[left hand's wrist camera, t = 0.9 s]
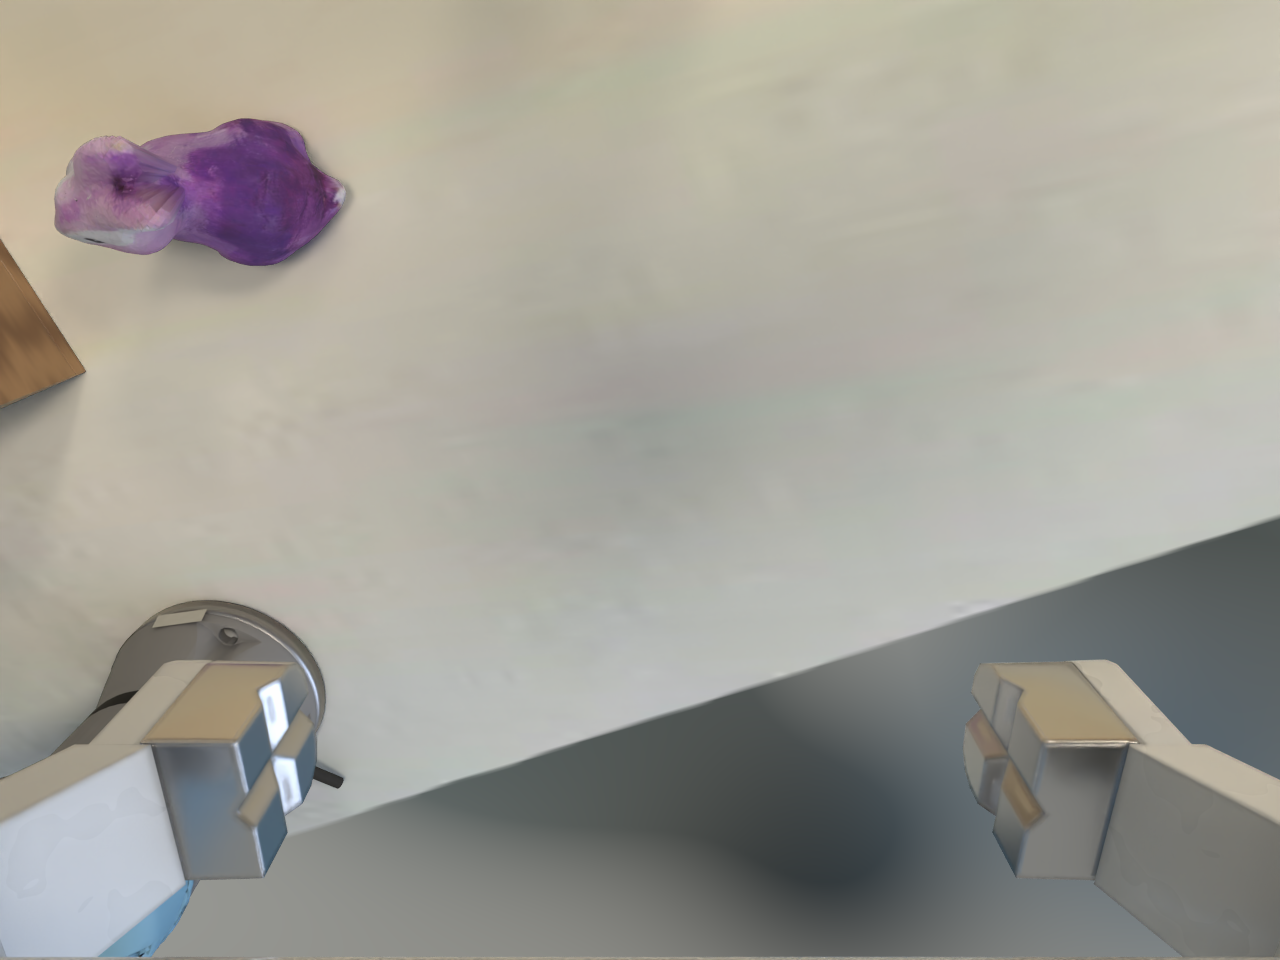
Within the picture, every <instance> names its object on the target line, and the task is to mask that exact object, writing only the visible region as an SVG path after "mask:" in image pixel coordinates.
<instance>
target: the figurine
mask: <svg viewBox="0 0 1280 960" xmlns="http://www.w3.org/2000/svg"><path fill="white" fill-rule="evenodd" d="M345 196H346V191H345V188H344V186H343V185H342V184H341V182H340V181H338V180H337V179H334V178H332V177H330V176H328V175H326V174H324V173H323V172H321V171H320V170H318V169H317V168H316V167H315V166H313V165H312V164H311V162H310V159H309V158H308V156H307V153H306V149H305V144H304V141H303V138H302V137H301V135H300V134H299V133H298V132H297V131H296V130H295V129H293V128H291V127H289V126H287V125H285V124H283V123H278V122H272V121H262V120H256V119H237V120H234V121H230V122H227V123H224V124H222V125H220V126H218V127H217V128H215V129H214V130H212V131H209V132H202V133H189V134H177V135H170V136H165V137H161V138H157V139H154V140H151V141H148V142H146V143H145V144H143V145H142V146H138V145H136V144H134V143H132V142H131V141H129V140H127V139H125V138H123V137H121V136H118V137H114V136H110V137H108V136H104V137H97V138H94V139H93V140H90V141H88V142H86V143H84V144H83V145H82V146H80V148H79V149H78V150H77V151H76V152H75V154H74V156H73V158H72V159H71V160H70V162H69V164H68V166H67V171H66V176H65V177H64V178H63V179H62V180H61V181H60V183H59V184H58V186H57V188H56V191H55V198H54V200H55V210H56V211H55V227H56V229H57V230H58V231H59V232H60V233H61V234H63V235H65V236H67V237H69V238H72V239H75V240H78V241H81V242H84V243H88V244H94V245H99V246H103V247H108V248H112V249H115V250H118V251H122V252H126V253H133V254H141V255H147V254H151V253H155V252H158V251H159V250H161V249H163V248H164V247H165V246H167V245H168V244H169V243H170V241H171V240H172V239H176V240H180V241H185V242H192V243H199V244H203V245H206V246H208V247H210V248H213V249H215V250H217V251H218V252H219V253H220V254H221V255H222V256H223V257H225V258H227V259H229V260H231V261H234V262H237V263H240V264H244V265H249V266H266V265H273V264H276V263H279V262H281V261H283V260H285V259H286V258H287V257H289V256H290V255H291V254H293V253H294V252H295V251H296V250H298V249H299V248H301V247H302V246H304V245H305V244H307V243H308V242H309V241H310V240H312V239H313V238H314V237H315V236H316V235H317V234H318V233H319V232H320V231H321V230H322V229H323V228H324V227H325V225H326V224H327V223H328V222H329V221H330V220H331V219H332V218H333V217H334V215H335V214H336V213H337V212H338V211H339V210H340V208H341V207H342V205H343V203H344V200H345Z"/></svg>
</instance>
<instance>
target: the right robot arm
mask: <svg viewBox="0 0 1280 960" xmlns="http://www.w3.org/2000/svg"><path fill="white" fill-rule="evenodd" d="M175 660H211V661H217V660H218V661H267V662H297V663H298V664H299V665H300V666H301V667H302V668H303V669H304V672H305V676H306V681H307V686H308V691H309V694H308V695H307V697H306V699H305V700H304V702H303V704H302V705H301V707H300V710H301V711H302V712H303V713H304V714H305V715H306V716H307V717H308V718H309V719H310V720H311V721H312V722H313V723H314V726H315V733H316V732H317V730H318V728H319V726H320V723H321V721H322V718H323V714H324V709H325V689H324V684H323V680H322V676H321V674H320V671H319V669H318V666H317V664H316V662H315V661H314V659H313V657H312V656H311V654H310V653H309V651H308V650H307V649H306V647H305V646H304V645H303V644H302V643H301V641H300V640H299V639H298V638H297V637H296V636H295V635H294V634H293V633H291V632H290V631H289V630H288V629H286V628H285V627H284V626H283V625H281V624H280V623H278V622H277V621H275V620H273V619H272V618H270V617H268V616H266V615H264V614H262V613H260V612H258V611H256V610H253V609H250V608H247V607H244V606H241V605H237V604H233V603H227V602H220V601H194V602H187V603H183V604H179V605H175V606H172V607H169V608H167V609H165V610H163V611H161V612H159V613H157V614H155V615H154V616H152V617H151V618H150V619H148V620H147V621H146V622H145V623H144V624H143V625H142V626H141V627H139V628H138V629H137V630H136V631H135V632H134V633H133V634H132V635H131V636H130V637H129V638H128V639H127V640H126V642H125V643H124V644H123V645H122V647H121V649H120V650H119V652H118V654H117V656H116V658H115V661H114V663H113V666H112V669H111V673H110V675H109V677H108V679H107V682H106V684H105V687H104V689H103V692H102V694H101V697H100V700H99V702H98V705H97V707H96V709H95V711H94V712H93V713H92V714H91V715H90V716H89V717H88V718H87V719H86V720H85V721H84V722H83V723H82V724H81V725H80V726H79V727H78V728H77V729H76V730H75V731H74V732H73V733H72V734H71V735H70V736H69V737H68V738H67V739H66V740H65V741H64V742H63V743H62V744H61V745H60V746H59V747H58V748H57V749H56V750H55V751H54V752H53V753H52V754H51V755H50V756H52V755H54V754H56V753H58V752H60V751H62V750H64V749H66V748H68V747H70V746H72V745H75V744H89V743H90V742H91V741H92V740H93V739H94V738H95V737H96V736H97V735H98V734H99V733H100V732H101V730H102V729H103V728H104V727H105V726H106V725H107V724H108V723H109V722H110V721H111V720H112V719H113V718H114V717H115V715H116V714H117V713H118V712H119V711H120V710H121V709H122V708H123V707H124V706H125V705H126V704H127V703H128V701H129V700H130V699H131V698H132V697H133V696H134V695H135V694H136V693H137V692H138V691H139V690H140V689H141V688H142V686H143V685H144V684H145V683H146V682H147V681H148V680H149V679H150V678H151V677H152V676H153V675H154V674H155V673H156V671H157V670H158V669H159V668H160V667H161V666H162V665H163V664H164V663H167V662H171V661H175ZM9 776H10V775H9ZM6 777H8V776H6ZM6 777H3V778H6ZM3 778H0V780H1V779H3ZM313 779H315V780H318V781H320V782H323V783H325V784H328V785H330V786H332V787H335V788H337V789H338V788H340V787H341V785H342V783H343V778H342V777H339V776H337V775H334V774H332V773H330V772H327V771H325V770H323V769H320V768H318V767H316V766H315V771H314V775H313ZM199 881H200V880H185V882H186V885H185V886H183V887H182V888H181V889H180V890H179V891H177V892H176V893H175V894H174V895H172V896H171V897H170V898H169V899H168V900H166V901H165V902H164V903H163V904H161V905H160V906H159V907H158V908H157V909H155V910H154V911H153V912H152V913H150V914H149V915H148V916H147V917H146V918H144V919H143V920H142V921H141V922H139V923H138V924H137V925H136V926H135V927H133V928H132V929H131V930H130V931H128V932H127V933H126V934H125V935H124V936H122V937H121V938H120V939H119V940H117V941H116V942H115V943H114V944H113V945H111V946H110V947H109V948H108V949H106V950H105V951H104V952H103V953H102V954H100V955H99V956H98V957H151V956H152V955H153V953H154V952H155V950H156V949H157V948H158V947H159V945H160V944H161V943H162V942H164V941H165V939H166V938H167V936H168V935H169V934H170V933H171V932H172V931H173V929H174V928H175V926H176V925H177V923H178V922H179V920H180V918H181V916H182V914H183V912H184V910H185V908H186V906H187V904H188V902H189V898H190V896H191V894H192V893H193V891H194V889H195V887H196V886H197V884H198V882H199Z"/></svg>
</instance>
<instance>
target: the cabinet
mask: <svg viewBox="0 0 1280 960" xmlns="http://www.w3.org/2000/svg"><path fill="white" fill-rule="evenodd" d="M84 372H85V369H84V368H83V366H82V365H81V363H80V362H79V360H78V359H77V357H76V355H75V354H74V352H73V351H72V349H71V348H70V346H69V345H68V343H67V342H66V340H65V338H64V337H63V335H62V334H61V332H60V331H59V329H58V328H57V326H56V325H55V323H54V322H53V320H52V318H51V317H50V315H49V314H48V312H47V311H46V309H45V308H44V306H43V305H42V303H41V301H40V300H39V298H38V297H37V295H36V294H35V292H34V291H33V289H32V288H31V286H30V285H29V283H28V281H27V280H26V278H25V277H24V275H23V274H22V272H21V271H20V269H19V268H18V266H17V264H16V263H15V261H14V260H13V258H12V257H11V255H10V254H9V252H8V251H7V249H6V248H5V246H4V244H3V243H2V241H1V240H0V409H1V408H3V407H6V406H8V405H10V404H13V403H15V402H17V401H19V400H22V399H24V398H26V397H29V396H31V395H33V394H36V393H38V392H40V391H43V390H45V389H47V388H49V387H52V386H54V385H56V384H59V383H61V382H63V381H66V380H68V379H70V378H73V377H75V376H77V375H80V374H82V373H84Z"/></svg>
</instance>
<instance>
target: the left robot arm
mask: <svg viewBox="0 0 1280 960" xmlns="http://www.w3.org/2000/svg"><path fill="white" fill-rule="evenodd" d="M308 694H309V691H308V686H307V681H306V676H305V672H304V669H303V668H302V667H301V666H300V665H299V664H298V663H297V662H267V661H218V660H217V661H211V660H175V661H171V662H167V663H164V664H163V665H162V666H161V667H160V668H159V669H158V670H157V671H156V673H155V674H154V675H153V676H152V677H151V678H150V679H149V680H148V681H147V682H146V683H145V684H144V685H143V686H142V688H141V689H140V690H139V691H138V692H137V693H136V694H135V695H134V696H133V697H132V698H131V699H130V700H129V701H128V703H127V704H126V705H125V706H124V707H123V708H122V709H121V710H120V711H119V712H118V713H117V714H116V715H115V717H114V718H113V719H112V720H111V721H110V722H109V723H108V724H107V725H106V726H105V727H104V728H103V729H102V730H101V732H100V733H99V734H98V735H97V736H96V737H95V738H94V739H93V740H92V741H91V742H90V743H89V744H75V745H72V746H70V747H68V748H66V749H64V750H62V751H60V752H58V753H56V754H54V755H52V756H49V757H47V758H45V759H43V760H41V761H39V762H37V763H35V764H33V765H31V766H29V767H26V768H24V769H22V770H20V771H18V772H16V773H14V774H12V775H10V776H8V777H6V778H3V779H1V780H0V960H1280V780H1278V779H1276V778H1274V777H1272V776H1270V775H1268V774H1266V773H1264V772H1262V771H1260V770H1258V769H1256V768H1253V767H1251V766H1249V765H1247V764H1245V763H1243V762H1241V761H1239V760H1237V759H1235V758H1233V757H1231V756H1228V755H1226V754H1224V753H1222V752H1220V751H1218V750H1216V749H1214V748H1212V747H1210V746H1208V745H1205V744H1191V743H1190V742H1189V741H1188V740H1187V739H1186V738H1185V737H1184V736H1183V735H1182V734H1181V733H1180V732H1179V730H1178V729H1177V728H1176V727H1175V726H1174V725H1173V724H1172V723H1171V722H1170V721H1169V720H1168V719H1167V718H1166V716H1165V715H1164V714H1163V713H1162V712H1161V711H1160V710H1159V709H1158V708H1157V707H1156V706H1155V705H1154V704H1153V703H1152V701H1151V700H1150V699H1149V698H1148V697H1147V696H1146V695H1145V694H1144V693H1143V692H1142V691H1141V690H1140V689H1139V687H1138V686H1137V685H1136V684H1135V683H1134V682H1133V681H1132V680H1131V679H1130V678H1129V677H1128V676H1127V675H1126V673H1125V672H1124V671H1123V670H1122V669H1121V668H1120V667H1119V666H1118V665H1117V664H1115V663H1113V662H1110V661H1108V660H1082V661H1064V662H1025V663H980V664H979V667H978V669H977V671H976V673H975V675H974V680H973V685H972V690H971V694H972V695H973V697H974V699H975V700H976V702H977V704H978V705H979V707H980V710H979V711H978V712H977V713H976V714H975V715H974V716H973V717H972V718H971V719H970V720H969V721H968V722H967V723H966V727H965V734H964V742H963V755H964V766H965V773H966V776H967V779H968V783H969V786H970V789H971V791H972V793H973V795H974V797H975V799H976V801H977V803H978V804H979V805H980V806H982V807H983V808H985V809H986V810H988V811H989V812H990V813H992V814H993V815H995V822H994V827H993V834H994V836H995V838H996V840H997V842H998V844H999V846H1000V848H1001V850H1002V852H1003V853H1004V855H1005V857H1006V859H1007V861H1008V863H1009V865H1010V867H1011V869H1012V871H1013V873H1014V874H1015V876H1016V878H1027V879H1064V880H1095V881H1094V884H1095V885H1096V886H1097V887H1098V888H1099V889H1101V890H1102V891H1103V892H1104V893H1106V894H1107V895H1108V896H1109V897H1110V898H1112V899H1113V900H1114V901H1115V902H1117V903H1118V904H1119V905H1120V906H1121V907H1123V908H1124V909H1125V910H1126V911H1128V912H1129V913H1130V914H1131V915H1132V916H1134V917H1135V918H1136V919H1137V920H1138V921H1140V922H1141V923H1142V924H1143V925H1145V926H1146V927H1147V928H1148V929H1149V930H1151V931H1152V932H1153V933H1154V934H1156V935H1157V936H1158V937H1159V938H1160V939H1162V940H1163V941H1164V942H1165V943H1167V944H1168V945H1169V946H1170V947H1171V948H1173V949H1174V950H1175V951H1176V952H1177V953H1179V954H1180V955H1181V956H1182V957H98V956H99V955H100V954H102V953H103V952H104V951H105V950H106V949H108V948H109V947H110V946H111V945H113V944H114V943H115V942H116V941H117V940H119V939H120V938H121V937H122V936H124V935H125V934H126V933H127V932H128V931H130V930H131V929H132V928H133V927H135V926H136V925H137V924H138V923H139V922H141V921H142V920H143V919H144V918H146V917H147V916H148V915H149V914H150V913H152V912H153V911H154V910H155V909H157V908H158V907H159V906H160V905H161V904H163V903H164V902H165V901H166V900H168V899H169V898H170V897H171V896H172V895H174V894H175V893H176V892H177V891H179V890H180V889H181V888H182V887H183V886H185V885H186V882H185V880H215V879H250V878H264V877H265V875H266V873H267V871H268V869H269V867H270V865H271V863H272V861H273V859H274V857H275V855H276V854H277V852H278V850H279V848H280V846H281V844H282V842H283V840H284V838H285V836H286V834H287V827H286V822H285V815H287V814H288V813H290V812H291V811H292V810H294V809H295V808H297V807H298V806H300V805H301V804H302V803H303V801H304V799H305V797H306V795H307V793H308V791H309V789H310V787H311V784H312V780H313V775H314V771H315V766H316V762H317V739H316V733H315V726H314V723H313V722H312V721H311V720H310V719H309V718H308V717H307V716H306V715H305V714H304V713H303V712H302V711H301V710H300V707H301V705H302V704H303V702H304V700H305V699H306V697H307V695H308Z"/></svg>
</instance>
